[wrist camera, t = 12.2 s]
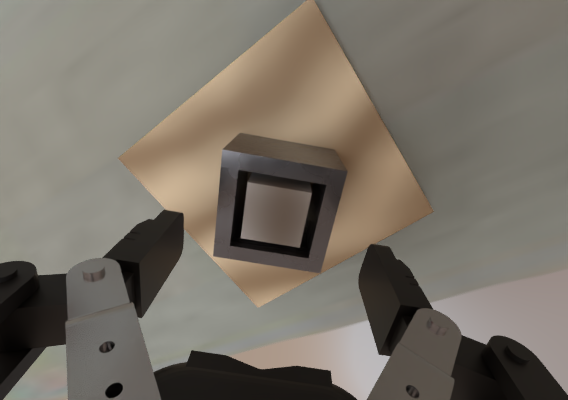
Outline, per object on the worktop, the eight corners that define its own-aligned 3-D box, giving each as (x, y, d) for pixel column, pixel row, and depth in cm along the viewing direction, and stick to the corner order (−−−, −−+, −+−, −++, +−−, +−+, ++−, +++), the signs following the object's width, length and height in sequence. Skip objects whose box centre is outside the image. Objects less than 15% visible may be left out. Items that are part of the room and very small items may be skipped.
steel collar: (230, 218, 21) (212, 256, 17) (239, 132, 19) (222, 149, 14) (314, 232, 22) (320, 273, 17) (334, 149, 19) (347, 171, 14)
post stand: (129, 153, 21) (64, 181, 15) (310, 2, 17) (319, -39, 11) (259, 295, 26) (249, 360, 20) (424, 203, 22) (474, 249, 16)
